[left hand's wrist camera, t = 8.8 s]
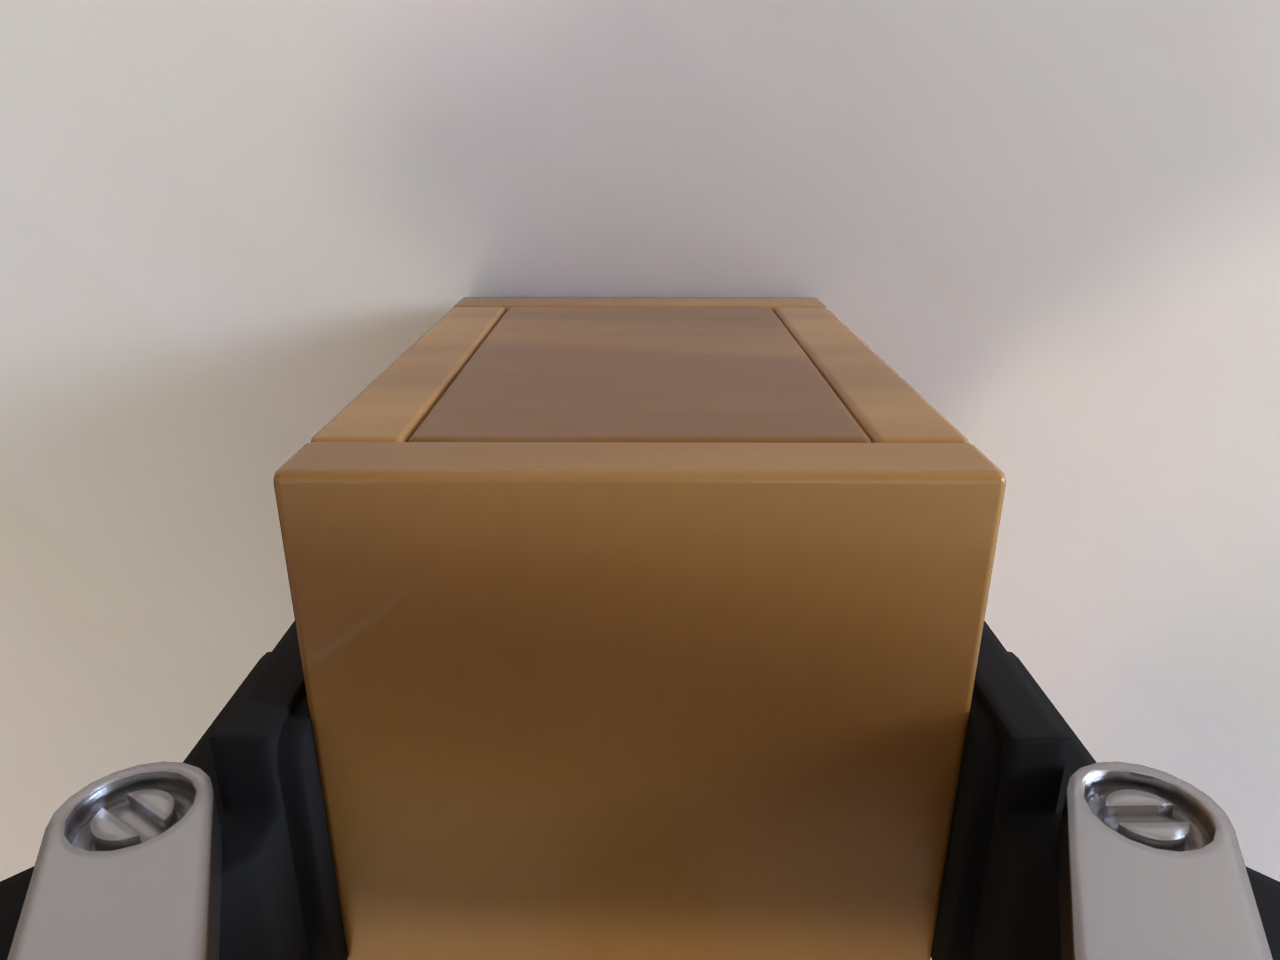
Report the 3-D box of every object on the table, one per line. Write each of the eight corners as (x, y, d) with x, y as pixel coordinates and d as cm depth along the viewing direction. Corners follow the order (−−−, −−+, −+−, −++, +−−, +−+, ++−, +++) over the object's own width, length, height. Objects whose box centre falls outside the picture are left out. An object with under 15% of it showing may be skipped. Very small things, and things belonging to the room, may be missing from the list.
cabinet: (759, 1104, 23) (824, 1637, 15) (518, 1103, 23) (450, 1636, 15) (818, 297, 15) (1012, 475, 7) (462, 296, 15) (267, 473, 7)
